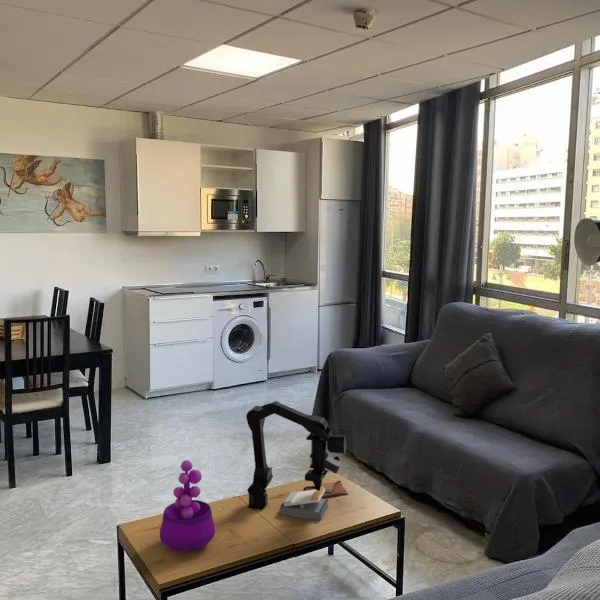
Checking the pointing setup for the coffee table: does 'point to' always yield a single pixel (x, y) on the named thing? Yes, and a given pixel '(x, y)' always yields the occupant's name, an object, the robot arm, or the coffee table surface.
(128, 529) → the coffee table surface
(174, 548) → the decorative plant
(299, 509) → the box
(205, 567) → the coffee table surface
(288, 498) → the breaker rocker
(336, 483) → the sunglasses case
